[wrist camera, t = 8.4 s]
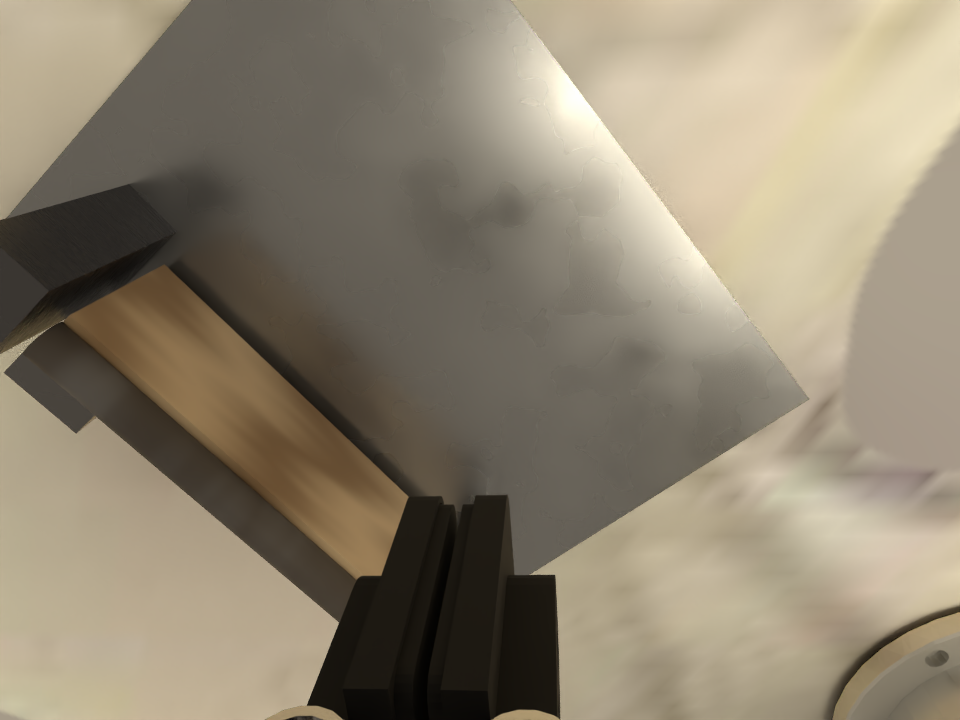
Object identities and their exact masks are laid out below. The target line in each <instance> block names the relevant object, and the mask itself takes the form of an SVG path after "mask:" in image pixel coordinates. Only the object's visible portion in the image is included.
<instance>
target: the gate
mask: <svg viewBox="0 0 960 720" xmlns="http://www.w3.org/2000/svg"><path fill="white" fill-rule="evenodd" d="M23 355H24V356H25V357H26V358H28V359H29V360H30V361H31V362H32V363H34V364H35V365H36V366H37V367H38V368H39V369H41V370H42V371H43V372H44V373H45V374H47V375H48V376H49V377H50V378H51V379H52V380H54V381H55V382H56V383H57V384H58V385H60V386H61V387H62V388H63V389H64V390H65V391H67V392H68V393H69V394H70V395H71V396H73V397H74V398H75V399H76V400H77V401H78V402H80V403H81V404H82V405H83V406H84V407H85V408H87V409H88V410H89V411H90V412H91V413H93V414H94V415H95V416H96V417H97V418H98V419H100V420H101V421H102V422H103V423H104V424H106V425H107V426H108V427H109V428H110V429H111V430H113V431H114V432H115V433H116V434H117V435H119V436H120V437H121V438H122V439H123V440H124V441H126V442H127V443H128V444H129V445H130V446H132V447H133V448H134V449H135V450H136V451H137V452H139V453H140V454H141V455H142V456H143V457H145V458H146V459H147V460H148V461H149V462H150V463H152V464H153V465H154V466H155V467H156V468H158V469H159V470H160V471H161V472H162V473H163V474H165V475H166V476H167V477H168V478H169V479H171V480H172V481H173V482H174V483H175V484H176V485H178V486H179V487H180V488H181V489H182V490H183V491H185V492H186V493H187V494H188V495H189V496H191V497H192V498H193V499H194V500H195V501H196V502H198V503H199V504H200V505H201V506H202V507H204V508H205V509H206V510H207V511H208V512H209V513H211V514H212V515H213V516H214V517H215V518H217V519H218V520H219V521H220V522H221V523H222V524H224V525H225V526H226V527H227V528H228V529H230V530H231V531H232V532H233V533H234V534H235V535H237V536H238V537H239V538H240V539H241V540H243V541H244V542H245V543H246V544H247V545H248V546H250V547H251V548H252V549H253V550H254V551H256V552H257V553H258V554H259V555H260V556H261V557H263V558H264V559H265V560H266V561H267V562H268V563H270V564H271V565H272V566H273V567H274V568H276V569H277V570H278V571H279V572H280V573H281V574H283V575H284V576H285V577H286V578H287V579H289V580H290V581H291V582H292V583H293V584H294V585H296V586H297V587H298V588H299V589H300V590H302V591H303V592H304V593H305V594H306V595H307V596H309V597H310V598H311V599H312V600H313V601H315V602H316V603H317V604H318V605H319V606H320V607H322V608H323V609H324V610H325V611H326V612H328V613H329V614H330V615H331V616H332V617H333V618H335V619H336V620H337V621H338V622H340V620H341V617H342V615H343V612H344V610H345V607H346V605H347V602H348V600H349V597H350V594H351V592H352V589H353V587H354V584H355V583H356V581H357V579H358V578H359V577H360V576H381V575H382V572H383V569H384V566H385V563H386V560H387V557H388V554H389V551H390V549H391V546H392V543H393V540H394V537H395V534H396V531H397V528H398V525H399V522H400V519H401V517H402V514H403V511H404V508H405V505H406V502H407V500H408V498H409V497H408V496H407V495H406V494H405V493H404V492H403V491H402V490H401V489H400V488H399V487H398V486H397V485H396V484H395V483H394V482H393V481H392V480H390V479H389V478H388V477H387V476H386V475H385V474H384V473H383V472H382V471H381V470H380V469H379V468H378V467H377V466H376V465H375V464H374V463H373V462H372V461H371V460H369V459H368V458H367V457H366V456H365V455H364V454H363V453H362V452H361V451H360V450H359V449H358V448H357V447H356V446H355V445H354V444H353V443H352V442H351V441H350V440H348V439H347V438H346V437H345V436H344V435H343V434H342V433H341V432H340V431H339V430H338V429H337V428H336V427H335V426H334V425H333V424H332V423H331V422H330V421H328V420H327V419H326V418H325V417H324V416H323V415H322V414H321V413H320V412H319V411H318V410H317V409H316V408H315V407H314V406H313V405H312V404H311V403H310V402H309V401H307V400H306V399H305V398H304V397H303V396H302V395H301V394H300V393H299V392H298V391H297V390H296V389H295V388H294V387H293V386H292V385H291V384H290V383H289V382H288V381H286V380H285V379H284V378H283V377H282V376H281V375H280V374H279V373H278V372H277V371H276V370H275V369H274V368H273V367H272V366H271V365H270V364H269V363H268V362H266V361H265V360H264V359H263V358H262V357H261V356H260V355H259V354H258V353H257V352H256V351H255V350H254V349H253V348H252V347H251V346H250V345H249V344H248V343H247V342H245V341H244V340H243V339H242V338H241V337H240V336H239V335H238V334H237V333H236V332H235V331H234V330H233V329H232V328H231V327H230V326H229V325H228V324H227V323H226V322H224V321H223V320H222V319H221V318H220V317H219V316H218V315H217V314H216V313H215V312H214V311H213V310H212V309H211V308H210V307H209V306H208V305H207V304H206V303H204V302H203V301H202V300H201V299H200V298H199V297H198V296H197V295H196V294H195V293H194V292H193V291H192V290H191V289H190V288H189V287H188V286H187V285H186V284H185V283H183V282H182V281H181V280H180V279H179V278H178V277H177V276H176V275H175V274H174V273H173V272H172V271H171V270H170V269H169V268H168V267H167V266H166V265H165V264H164V265H162V266H161V267H159V268H157V269H155V270H153V271H151V272H149V273H147V274H146V275H144V276H142V277H140V278H138V279H136V280H134V281H133V282H131V283H129V284H127V285H125V286H123V287H121V288H119V289H118V290H116V291H114V292H112V293H110V294H108V295H106V296H105V297H103V298H101V299H99V300H97V301H95V302H93V303H91V304H90V305H88V306H86V307H84V308H82V309H80V310H78V311H77V312H75V313H73V314H71V315H69V316H68V318H67V319H66V320H65V321H64V322H60V323H58V324H56V325H54V326H52V327H51V328H49V329H48V330H47V331H45V332H44V333H43V334H41V335H40V336H39V337H38V338H36V339H35V340H34V341H33V342H32V343H31V344H30V345H29V346H28V347H27V348H26V349H25V351H24V352H23Z"/></svg>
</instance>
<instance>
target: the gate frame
mask: <svg viewBox="0 0 960 720" xmlns="http://www.w3.org/2000/svg"><path fill="white" fill-rule="evenodd" d="M164 264H165V265H166V266H167V267H168V268H169V269H170V270H171V271H172V272H173V273H174V274H175V275H176V276H177V277H178V278H179V279H180V280H181V281H182V282H183V283H185V284H186V285H187V286H188V287H189V288H190V289H191V290H192V291H193V292H194V293H195V294H196V295H197V296H198V297H199V298H200V299H201V300H202V301H203V302H204V303H206V304H207V305H208V306H209V307H210V308H211V309H212V310H213V311H214V312H215V313H216V314H217V315H218V316H219V317H220V318H221V319H222V320H223V321H224V322H226V323H227V324H228V325H229V326H230V327H231V328H232V329H233V330H234V331H235V332H236V333H237V334H238V335H239V336H240V337H241V338H242V339H243V340H244V341H245V342H247V343H248V344H249V345H250V346H251V347H252V348H253V349H254V350H255V351H256V352H257V353H258V354H259V355H260V356H261V357H262V358H263V359H264V360H265V361H266V362H268V363H269V364H270V365H271V366H272V367H273V368H274V369H275V370H276V371H277V372H278V373H279V374H280V375H281V376H282V377H283V378H284V379H285V380H286V381H288V382H289V383H290V384H291V385H292V386H293V387H294V388H295V389H296V390H297V391H298V392H299V393H300V394H301V395H302V396H303V397H304V398H305V399H306V400H307V401H309V402H310V403H311V404H312V405H313V406H314V407H315V408H316V409H317V410H318V411H319V412H320V413H321V414H322V415H323V416H324V417H325V418H326V419H327V420H328V421H330V422H331V423H332V424H333V425H334V426H335V427H336V428H337V429H338V430H339V431H340V432H341V433H342V434H343V435H344V436H345V437H346V438H347V439H348V440H350V441H351V442H352V443H353V444H354V445H355V446H356V447H357V448H358V449H359V450H360V451H361V452H362V453H363V454H364V455H365V456H366V457H367V458H368V459H369V460H371V461H372V462H373V463H374V464H375V465H376V466H377V467H378V468H379V469H380V470H381V471H382V472H383V473H384V474H385V475H386V476H387V477H388V478H389V479H390V480H392V481H393V482H394V483H395V484H396V485H397V486H398V487H399V488H400V489H401V490H402V491H403V492H404V493H405V494H406V495H407V496H408V497H410V496H442V498H443V501H444V505H446V504H454V506H455V511H456V519H457V528H458V525H459V520H460V515H461V510H462V506H463V504H474V499H475V496H476V495H508V498H509V506H510V520H511V533H512V547H513V560H514V574H515V575H530V574H531V573H533V572H534V571H536V570H538V569H539V568H541V567H542V566H544V565H546V564H547V563H549V562H550V561H552V560H554V559H555V558H557V557H558V556H560V555H562V554H563V553H565V552H566V551H568V550H569V549H571V548H573V547H574V546H576V545H577V544H579V543H581V542H582V541H584V540H585V539H587V538H589V537H590V536H592V535H593V534H595V533H597V532H598V531H600V530H601V529H603V528H605V527H606V526H608V525H609V524H611V523H613V522H614V521H616V520H617V519H619V518H621V517H622V516H624V515H625V514H627V513H629V512H630V511H632V510H633V509H635V508H636V507H638V506H640V505H641V504H643V503H644V502H646V501H648V500H649V499H651V498H652V497H654V496H656V495H657V494H659V493H660V492H662V491H664V490H665V489H667V488H668V487H670V486H672V485H673V484H675V483H676V482H678V481H680V480H681V479H683V478H684V477H686V476H688V475H689V474H691V473H692V472H694V471H696V470H697V469H699V468H700V467H702V466H703V465H705V464H707V463H708V462H710V461H711V460H713V459H715V458H716V457H718V456H719V455H721V454H723V453H724V452H726V451H727V450H729V449H731V448H732V447H734V446H735V445H737V444H739V443H740V442H742V441H743V440H745V439H747V438H748V437H750V436H751V435H753V434H755V433H756V432H758V431H759V430H761V429H763V428H764V427H766V426H767V425H769V424H770V423H772V422H774V421H775V420H777V419H778V418H780V417H782V416H783V415H785V414H786V413H788V412H790V411H791V410H793V409H794V408H796V407H798V406H799V405H801V404H802V403H804V402H806V401H807V400H809V398H808V397H807V395H806V394H805V393H804V391H803V390H802V389H801V387H800V386H799V385H798V383H797V382H796V381H795V379H794V378H793V377H792V375H791V374H790V373H789V371H788V370H787V369H786V367H785V366H784V365H783V363H782V362H781V361H780V359H779V358H778V357H777V355H776V354H775V353H774V351H773V350H772V349H771V347H770V346H769V345H768V343H767V342H766V341H765V339H764V338H763V336H762V335H761V334H760V332H759V331H758V330H757V328H756V327H755V326H754V324H753V323H752V322H751V320H750V319H749V318H748V316H747V315H746V314H745V312H744V311H743V310H742V308H741V307H740V306H739V304H738V303H737V302H736V300H735V299H734V298H733V296H732V295H731V294H730V292H729V291H728V290H727V288H726V287H725V286H724V284H723V283H722V282H721V280H720V279H719V278H718V276H717V275H716V274H715V272H714V271H713V270H712V268H711V267H710V266H709V264H708V263H707V262H706V260H705V259H704V258H703V256H702V255H701V254H700V252H699V251H698V250H697V248H696V247H695V246H694V244H693V243H692V242H691V240H690V239H689V238H688V236H687V235H686V234H685V232H684V231H683V230H682V228H681V227H680V226H679V224H678V223H677V222H676V220H675V219H674V218H673V216H672V215H671V214H670V212H669V211H668V210H667V208H666V207H665V206H664V204H663V203H662V202H661V200H660V199H659V198H658V196H657V195H656V194H655V192H654V191H653V190H652V188H651V187H650V185H649V184H648V183H647V181H646V180H645V179H644V177H643V176H642V175H641V173H640V172H639V171H638V169H637V168H636V167H635V165H634V164H633V163H632V161H631V160H630V159H629V157H628V156H627V155H626V153H625V152H624V151H623V149H622V148H621V147H620V145H619V144H618V143H617V141H616V140H615V139H614V137H613V136H612V135H611V133H610V132H609V131H608V129H607V128H606V127H605V125H604V124H603V123H602V121H601V120H600V119H599V117H598V116H597V115H596V113H595V112H594V111H593V109H592V108H591V107H590V105H589V104H588V103H587V101H586V100H585V99H584V97H583V96H582V95H581V93H580V92H579V91H578V89H577V88H576V87H575V85H574V84H573V83H572V81H571V80H570V79H569V77H568V76H567V75H566V73H565V72H564V71H563V69H562V68H561V67H560V65H559V64H558V63H557V61H556V60H555V59H554V57H553V56H552V55H551V53H550V52H549V51H548V49H547V48H546V47H545V45H544V44H543V43H542V41H541V40H540V39H539V37H538V36H537V34H536V33H535V32H534V30H533V29H532V28H531V26H530V25H529V24H528V22H527V21H526V20H525V18H524V17H523V16H522V14H521V13H520V12H519V10H518V9H517V8H516V6H515V5H514V4H513V2H512V1H511V0H192V1H191V2H190V3H189V4H188V5H187V7H186V8H185V9H184V10H183V11H182V13H181V14H180V15H179V16H178V17H177V18H176V20H175V21H174V22H173V23H172V24H171V25H170V27H169V28H168V29H167V30H166V31H165V33H164V34H163V35H162V36H161V37H160V38H159V40H158V41H157V42H156V43H155V44H154V45H153V47H152V48H151V49H150V50H149V51H148V52H147V54H146V55H145V56H144V57H143V58H142V60H141V61H140V62H139V63H138V64H137V65H136V67H135V68H134V69H133V70H132V71H131V72H130V74H129V75H128V76H127V77H126V78H125V80H124V81H123V82H122V83H121V84H120V85H119V87H118V88H117V89H116V90H115V91H114V92H113V94H112V95H111V96H110V97H109V98H108V100H107V101H106V102H105V103H104V104H103V105H102V107H101V108H100V109H99V110H98V111H97V112H96V114H95V115H94V116H93V117H92V118H91V119H90V121H89V122H88V123H87V124H86V125H85V127H84V128H83V129H82V130H81V131H80V132H79V134H78V135H77V136H76V137H75V138H74V139H73V141H72V142H71V143H70V144H69V145H68V147H67V148H66V149H65V150H64V151H63V152H62V154H61V155H60V156H59V157H58V158H57V159H56V161H55V162H54V163H53V164H52V165H51V167H50V168H49V169H48V170H47V171H46V172H45V174H44V175H43V176H42V177H41V178H40V179H39V181H38V182H37V183H36V184H35V185H34V186H33V188H32V189H31V190H30V191H29V192H28V194H27V195H26V196H25V197H24V198H23V199H22V201H21V202H20V203H19V204H18V205H17V206H16V208H15V209H14V210H13V211H12V212H11V214H10V215H9V216H8V217H7V218H6V219H3V220H0V354H1V353H3V352H5V351H7V350H8V349H10V348H12V347H14V346H16V345H18V344H20V343H21V342H23V341H25V340H27V339H29V338H31V337H33V336H34V335H36V334H38V333H40V332H42V331H44V330H46V329H47V328H49V327H51V326H53V325H55V324H57V323H59V322H60V321H62V320H64V319H67V318H68V316H69V315H71V314H73V313H75V312H77V311H78V310H80V309H82V308H84V307H86V306H88V305H90V304H91V303H93V302H95V301H97V300H99V299H101V298H103V297H105V296H106V295H108V294H110V293H112V292H114V291H116V290H118V289H119V288H121V287H123V286H125V285H127V284H129V283H131V282H133V281H134V280H136V279H138V278H140V277H142V276H144V275H146V274H147V273H149V272H151V271H153V270H155V269H157V268H159V267H161V266H162V265H164ZM4 373H5V374H6V375H7V376H9V377H10V378H11V379H12V380H13V381H15V382H16V383H17V384H18V385H19V386H20V387H22V388H23V389H24V390H25V391H26V392H28V393H29V394H30V395H31V396H32V397H33V398H35V399H36V400H37V401H38V402H39V403H41V404H42V405H43V406H44V407H45V408H47V409H48V410H49V411H50V412H51V413H52V414H54V415H55V416H56V417H57V418H58V419H60V420H61V421H62V422H63V423H64V424H66V425H67V426H68V427H69V428H70V429H71V430H73V431H74V432H75V433H77V432H79V431H80V430H81V429H82V428H84V427H85V426H86V425H87V424H88V423H90V422H91V421H92V420H93V419H95V418H96V416H95V415H94V414H93V413H91V412H90V411H89V410H88V409H87V408H85V407H84V406H83V405H82V404H81V403H80V402H78V401H77V400H76V399H75V398H74V397H73V396H71V395H70V394H69V393H68V392H67V391H65V390H64V389H63V388H62V387H61V386H60V385H58V384H57V383H56V382H55V381H54V380H52V379H51V378H50V377H49V376H48V375H47V374H45V373H44V372H43V371H42V370H41V369H39V368H38V367H37V366H36V365H35V364H34V363H32V362H31V361H30V360H29V359H28V358H26V357H25V356H24V355H23V353H22V354H21V355H20V356H19V357H18V358H17V359H16V360H15V361H14V362H13V363H12V365H11V366H10V367H9V368H8V369H7V370H6V371H5V372H4Z"/></svg>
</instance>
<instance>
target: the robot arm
mask: <svg viewBox="0 0 960 720" xmlns="http://www.w3.org/2000/svg"><path fill="white" fill-rule="evenodd" d="M265 720H560V684H559V647H558V620H557V598H556V579H555V575H515V574H514V560H513V547H512V533H511V520H510V506H509V498H508V495H476V496H475V499H474V504H463V506H462V510H461V515H460V520H459V525H458V528H457V519H456V511H455V506H454V504H446V505H444V501H443V498H442V496H410V497H409V498H408V500H407V502H406V505H405V508H404V511H403V514H402V517H401V519H400V522H399V525H398V528H397V531H396V534H395V537H394V540H393V543H392V546H391V549H390V551H389V554H388V557H387V560H386V563H385V566H384V569H383V572H382V575H381V576H360V577H359V578H358V579H357V581H356V583H355V584H354V587H353V589H352V592H351V594H350V597H349V600H348V602H347V605H346V607H345V610H344V612H343V615H342V617H341V620H340V622H339V625H338V628H337V630H336V633H335V635H334V638H333V640H332V643H331V645H330V648H329V650H328V653H327V656H326V658H325V661H324V663H323V666H322V668H321V671H320V673H319V676H318V678H317V681H316V684H315V686H314V689H313V691H312V694H311V696H310V699H309V701H308V704H307V706H298V707H294V708H290V709H286V710H283V711H281V712H279V713H277V714H275V715H273V716H271V717H269V718H267V719H265ZM832 720H960V612H958V613H955V614H951V615H948V616H945V617H941V618H938V619H935V620H933V621H931V622H929V623H926V624H924V625H922V626H920V627H917V628H915V629H913V630H911V631H908V632H907V633H905V634H903V635H902V636H900V637H899V638H897V639H896V640H894V641H892V642H891V643H889V644H888V645H886V646H884V647H883V648H882V649H880V650H879V651H878V652H877V653H876V654H875V655H874V656H872V657H871V658H870V659H869V660H868V661H867V662H865V663H864V664H863V665H862V666H861V667H860V669H859V670H858V671H857V672H856V674H855V675H854V676H853V677H852V679H851V680H850V681H849V682H848V684H847V685H846V686H845V688H844V690H843V692H842V694H841V696H840V698H839V700H838V702H837V704H836V706H835V710H834V715H833V719H832Z"/></svg>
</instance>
